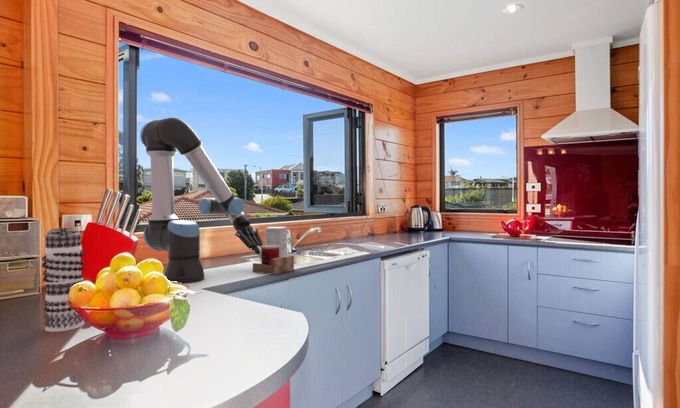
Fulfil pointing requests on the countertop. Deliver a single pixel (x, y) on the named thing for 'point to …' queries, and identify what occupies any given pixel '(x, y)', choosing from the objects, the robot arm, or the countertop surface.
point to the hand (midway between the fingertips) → (264, 258)
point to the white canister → (277, 238)
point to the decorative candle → (62, 277)
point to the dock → (276, 265)
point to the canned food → (269, 253)
